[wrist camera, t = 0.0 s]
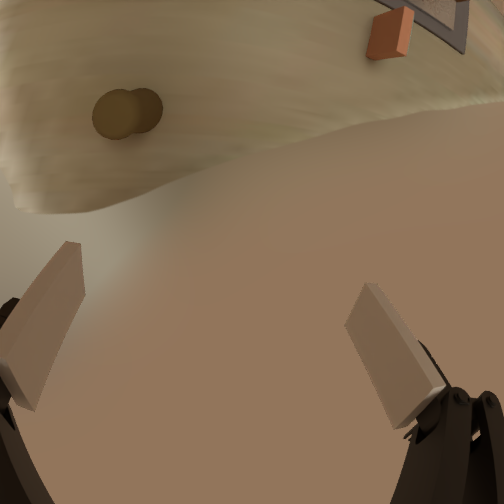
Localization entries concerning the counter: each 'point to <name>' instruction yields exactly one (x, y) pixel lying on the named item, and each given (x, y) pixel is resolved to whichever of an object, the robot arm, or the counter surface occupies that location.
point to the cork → (126, 112)
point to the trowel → (438, 10)
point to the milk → (499, 5)
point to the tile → (391, 34)
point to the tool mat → (450, 37)
